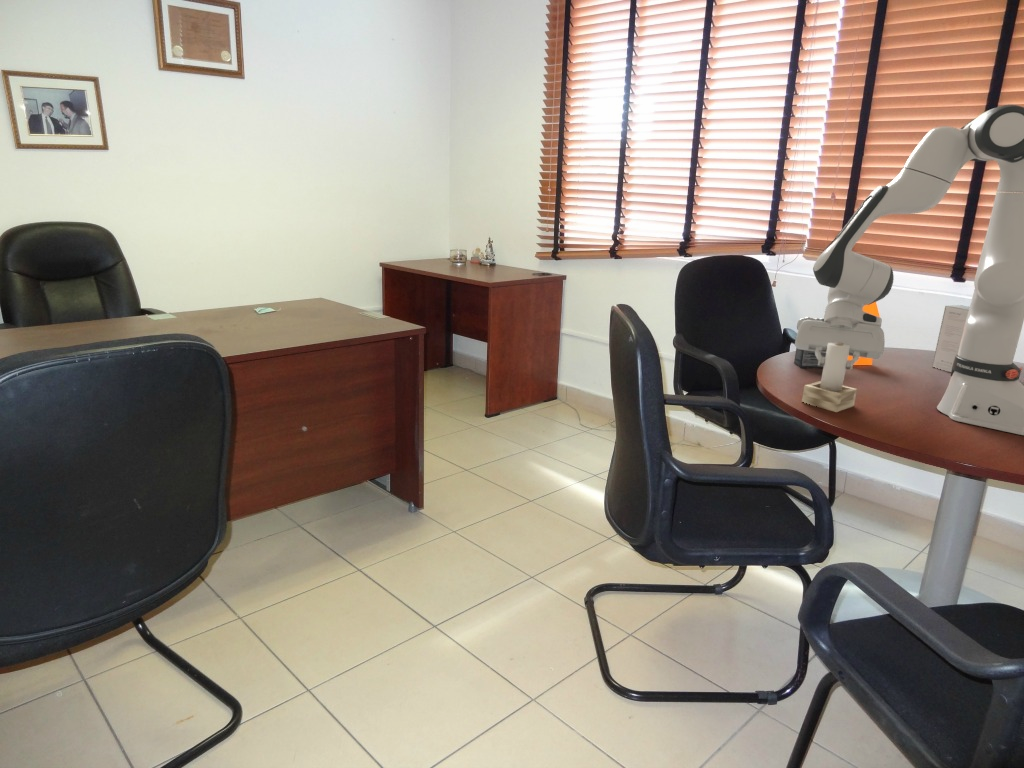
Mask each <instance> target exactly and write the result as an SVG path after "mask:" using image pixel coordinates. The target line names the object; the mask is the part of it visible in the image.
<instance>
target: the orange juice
mask: <svg viewBox="0 0 1024 768" xmlns="http://www.w3.org/2000/svg"><path fill="white" fill-rule="evenodd" d="M863 311H864V312H867V313H869V314H872V315H875V316H878V317H880V318H881V316H880V312H879V308H878V304H877V301H876V302H874V303H872V304H870V305H865V306H864V307H863ZM852 358H853V356H848V360H852ZM873 360H874V359H871V358H863V357H859V360H858V361H857V362H856V363H855V364H854V365H873Z"/></svg>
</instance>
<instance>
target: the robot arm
mask: <svg viewBox="0 0 1024 768" xmlns="http://www.w3.org/2000/svg"><path fill="white" fill-rule="evenodd" d="M970 161H971V162H990V161H995V162H996V163H997V165H998V168H999V172H1000V173H999V177H1000V178H999V182H998V184H997V189H996V192H995V197H994V201H993V205H992V209H991V214H990V219H989V223H988V226H987V230H986V234H985V237H984V238H985V239H984V241H983V245H982V249H981V253H980V256H979V261H978V265H977V268H976V273H975V276H974V281H973V284H974V285H973V286H974V290H973V295H972V297H971V302H970V305H969V307H970V308H969V312H968V316H967V319H966V322H965V326H964V331H963V335H962V339H961V343H960V347H959V351H958V355H956V356H955V359H954V361H953V364H952V368H951V372H950V379H949V382H948V385H947V388H946V390H945V392H944V394H943V396H942V398H941V400H940V401H939V403H938V404H937V406H936V408H937V409H936V410H938V411H939V412H941V413H942V414H944V415H946V416H948V417H949V418H950V419H951V420H953V421H954V422H961V423H965V424H969V425H974V426H979V427H982V428H983V427H984V428H988V429H993V430H997V431H1001V432H1007V433H1011V434H1016V435H1019V436H1020V435H1021V436H1024V384H1022V383H1021V382H1020V381H1019V379H1020V376H1021V373H1022V372H1023V371H1022V370H1023V366H1022V367H1021V366H1020V367H1019V366H1018V365H1016V364H1015V363H1014V358H1015V355H1016V351H1017V347H1018V345H1019V344H1018V343H1019V340H1020V336H1021V332H1022V330H1023V329H1022V328H1023V324H1024V106H1023V105H1022V106H1021V105H1018V104H1003V105H1000V106H997V107H994V108H991V109H989V110H986V111H985V112H983V113H981V114H979V116H977V117H975V118H973V119H972V120H971V121H969V122H968V123H966V124H965V125H963V126H962V127H961V128H957V127H953V126H950V125H949V126H938V127H934V128H932V129H931V130H929V131H928V132H927V133H926V134H925V135H924V136H923V138H922V139H921V140H920V141H919V142H918V144H917V145H916V147H915V148H914V150H913V151H912V152H911V154H910V155H909V157H908V158H907V160H906V162H905V163H904V165H903V167H902V169H901V170H900V172H899V173H898V174H897V176H896V177H894V179H893V180H891V181H890V182H889V183H887V184H886V185H885V184H884V185H879V186H877V187H876V188H875V189H874V190H872V191H871V192H870V194H869V195H868V196H867V197H866V198H865V199H864V201H862V203H861V204H860V205H859V207H858V208H857V209H856V211H855V212H854V213H853V214H852V216H851V217H850V218H849V219H848V221H847V222H846V223H845V225H844V226H843V227H842V229H841V230H840V231H839V232H838V233H837V235H836V236H835V238H834V239H833V240H832V241H831V242H830V243H829V245H828V246H826V247H825V248H824V250H823V251H822V252H821V253H820V255H819V256H818V257H817V258H816V260H815V262H814V264H813V268H812V270H813V274H814V276H815V279H816V281H817V283H818V284H819V285H821V286H825V287H829V289H828V294H827V305H826V307H825V311H824V316H823V318H819V317H815V318H814V317H808V316H806V317H804V318H800V319H799V320H798V321H797V324H796V329H797V333H796V336H795V339H794V340H795V341H794V346H795V349H796V348H797V349H800V350H808V351H815V356H816V357H817V359H818V365H819V366H824V362H825V357H822V356H821V352H824V353H826V351H827V345H828V343H831V342H834V343H835V342H840V343H843V344H847V345H850V349H849V355H848V356H853V358H852V360H847V365H846V370H849V371H850V370H851V371H852V370H853V369H854V368H853V367H854V366H853V365H854V364H855V363H856V362H857V361H858V360H859V357H863V358H871V359H873V360H879V359H881V358H882V357H883V355H884V351H885V332H884V330H883V328H882V322H883V321H882V318H881V316H880V317H878V316H875V315H872V314H869V313H867V312H864V311H863V307H864V306H865V305H870V304H872V303H874V302H876V303H877V302H879V301H881V300H883V299H884V298H885V297H886V296H887V295H888V294H889V293H890V292H891V290H892V288H893V284H894V278H895V277H894V276H895V275H894V270H893V268H892V266H891V265H888V264H887V263H885V262H883V261H880V260H877V259H874V258H871V257H868V256H865V255H863V254H862V253H861V254H860V253H858V252H855V251H853V248H854V246H855V245H856V244H857V242H859V240H860V239H861V237H862V236H863V235H864V234H865V233H866V231H867V230H868V229H869V227H870V226H871V225H872V223H874V221H876V220H878V219H879V218H881V217H884V216H889V215H911V214H912V215H913V214H914V215H915V214H920V213H924V212H927V211H929V210H931V209H933V208H935V207H936V206H938V204H939V203H940V202H941V201H942V199H944V197H945V196H946V194H947V193H948V191H949V189H950V187H951V186H952V185H953V182H954V181H955V179H956V177H957V176H958V175H957V174H958V173H959V172H960V171H961V169H962V168H963V167H964V166H965V165H966V164H967V163H969V162H970Z"/></svg>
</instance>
